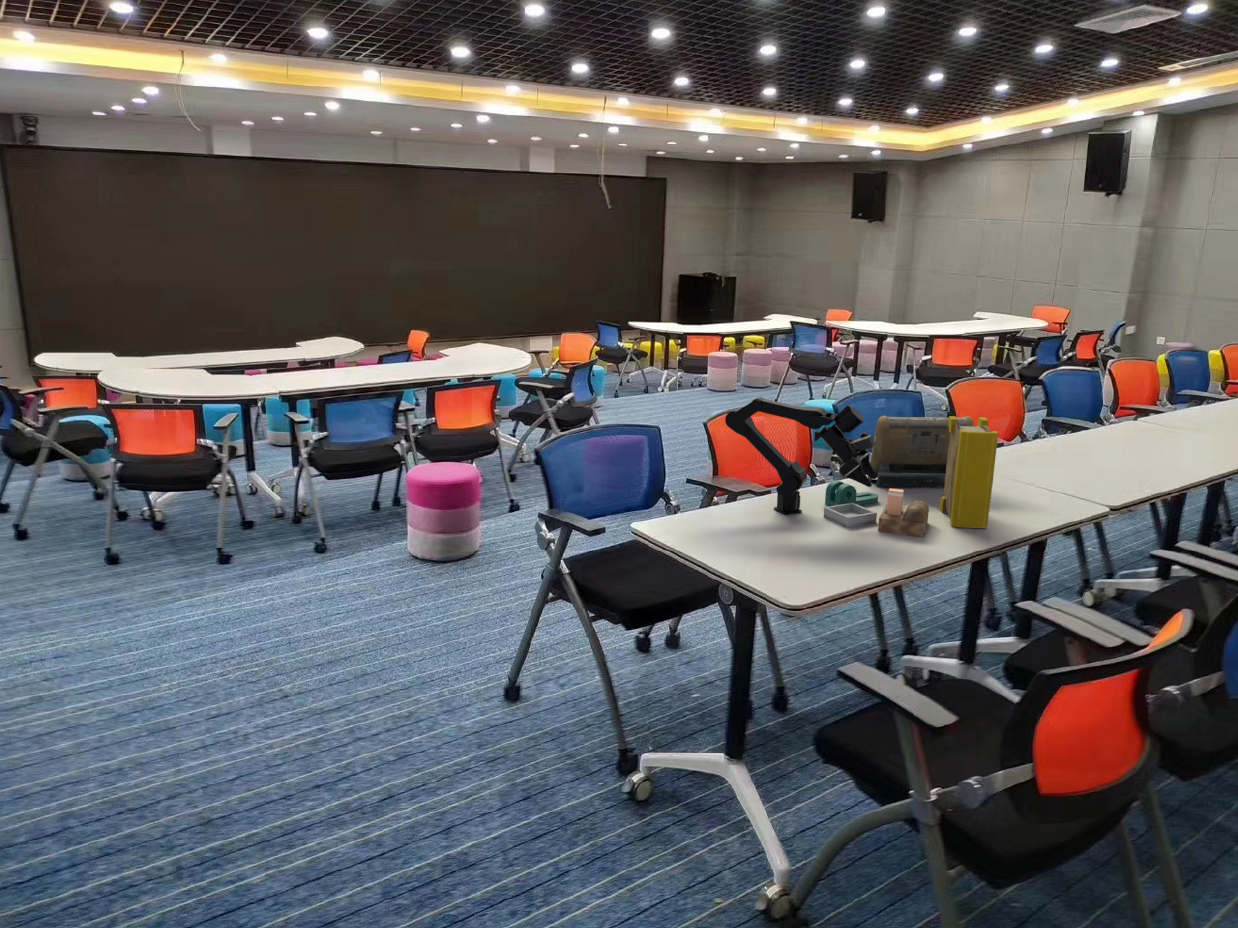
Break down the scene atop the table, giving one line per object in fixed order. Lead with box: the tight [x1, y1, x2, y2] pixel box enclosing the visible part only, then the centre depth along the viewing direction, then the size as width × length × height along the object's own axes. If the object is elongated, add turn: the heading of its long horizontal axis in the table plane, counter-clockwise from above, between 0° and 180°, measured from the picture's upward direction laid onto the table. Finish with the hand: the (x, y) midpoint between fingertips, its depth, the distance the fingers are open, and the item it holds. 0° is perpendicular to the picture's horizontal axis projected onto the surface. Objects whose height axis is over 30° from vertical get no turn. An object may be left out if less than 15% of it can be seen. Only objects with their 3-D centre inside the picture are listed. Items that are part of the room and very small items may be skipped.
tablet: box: [867, 415, 975, 489], centre depth 291 cm, size 33×14×25 cm, turn 94°
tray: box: [823, 503, 878, 528], centre depth 257 cm, size 11×11×3 cm
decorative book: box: [939, 415, 999, 529], centre depth 255 cm, size 20×11×30 cm, turn 169°
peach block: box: [886, 488, 905, 516], centre depth 251 cm, size 4×2×11 cm, turn 65°
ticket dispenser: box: [877, 500, 930, 538], centre depth 250 cm, size 12×14×7 cm
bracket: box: [824, 479, 879, 507], centre depth 272 cm, size 18×7×8 cm, turn 117°
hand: (873, 482), depth 252 cm, fingers open, 9 cm apart
